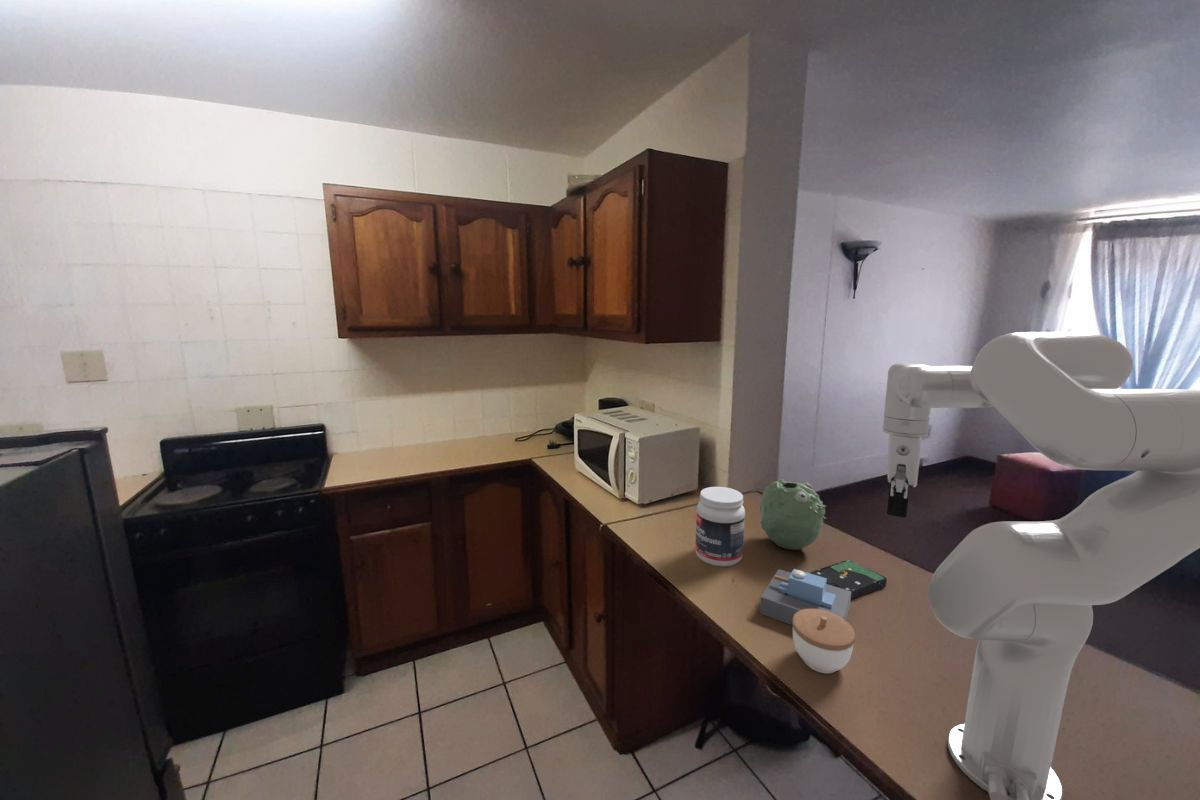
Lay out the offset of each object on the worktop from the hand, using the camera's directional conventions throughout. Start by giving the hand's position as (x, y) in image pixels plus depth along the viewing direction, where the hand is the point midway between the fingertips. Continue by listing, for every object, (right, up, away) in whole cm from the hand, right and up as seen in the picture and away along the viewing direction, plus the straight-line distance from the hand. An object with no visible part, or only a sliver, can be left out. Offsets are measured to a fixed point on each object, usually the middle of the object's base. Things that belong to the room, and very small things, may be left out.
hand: (897, 507), depth 93 cm
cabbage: (-7, -21, +39) cm, 44 cm away
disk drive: (+1, -24, +21) cm, 32 cm away
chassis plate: (-14, -26, +10) cm, 31 cm away
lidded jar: (-18, -29, -5) cm, 35 cm away
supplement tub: (-28, -22, +33) cm, 49 cm away
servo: (-14, -26, +10) cm, 31 cm away
